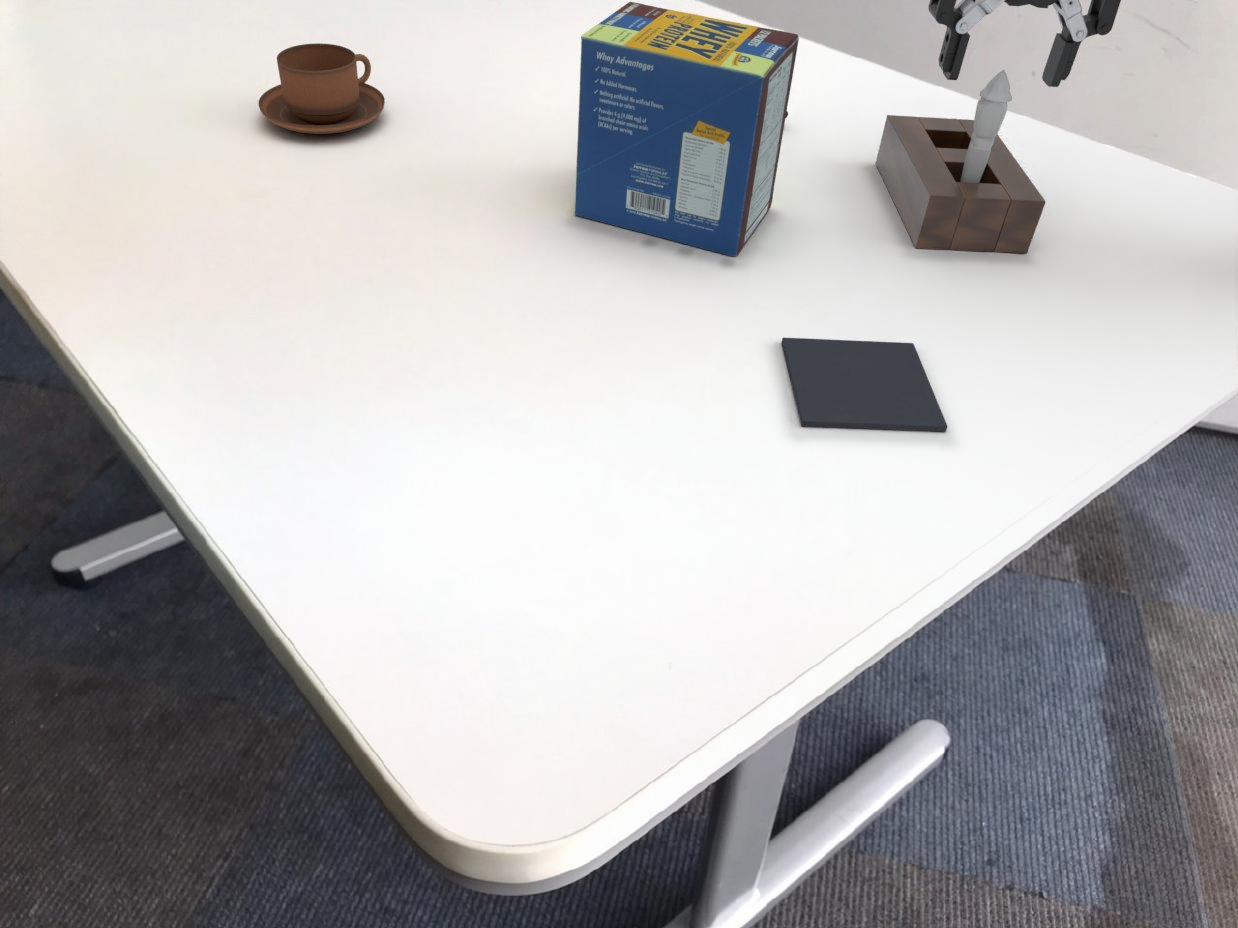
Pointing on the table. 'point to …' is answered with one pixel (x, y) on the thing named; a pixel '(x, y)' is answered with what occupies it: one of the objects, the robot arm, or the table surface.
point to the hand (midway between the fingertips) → (999, 80)
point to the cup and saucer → (321, 91)
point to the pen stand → (956, 188)
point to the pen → (986, 126)
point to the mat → (861, 385)
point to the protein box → (681, 124)
